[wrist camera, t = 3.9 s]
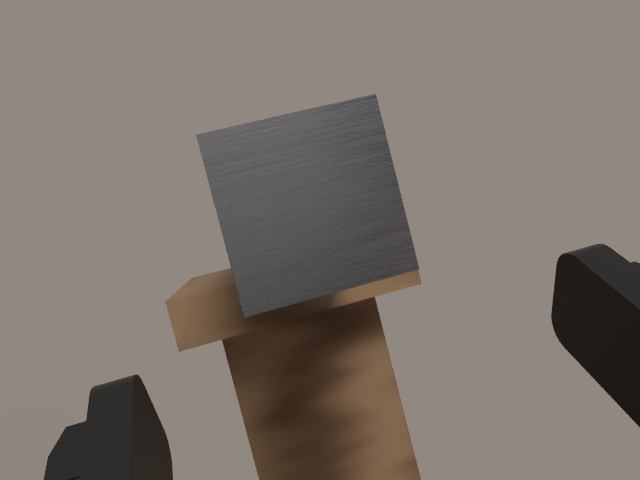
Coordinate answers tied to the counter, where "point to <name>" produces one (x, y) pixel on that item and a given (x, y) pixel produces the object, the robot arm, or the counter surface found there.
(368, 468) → the tall column
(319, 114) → the brushed steel bar
